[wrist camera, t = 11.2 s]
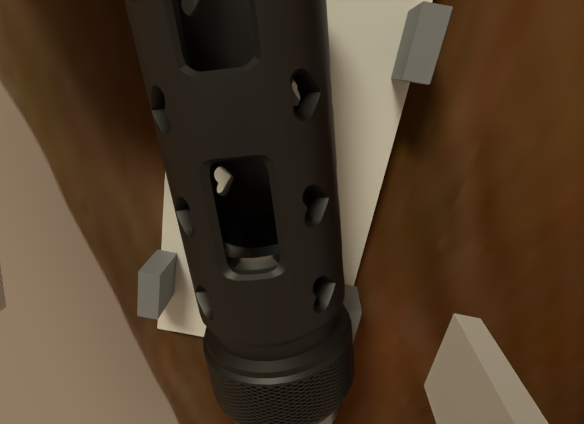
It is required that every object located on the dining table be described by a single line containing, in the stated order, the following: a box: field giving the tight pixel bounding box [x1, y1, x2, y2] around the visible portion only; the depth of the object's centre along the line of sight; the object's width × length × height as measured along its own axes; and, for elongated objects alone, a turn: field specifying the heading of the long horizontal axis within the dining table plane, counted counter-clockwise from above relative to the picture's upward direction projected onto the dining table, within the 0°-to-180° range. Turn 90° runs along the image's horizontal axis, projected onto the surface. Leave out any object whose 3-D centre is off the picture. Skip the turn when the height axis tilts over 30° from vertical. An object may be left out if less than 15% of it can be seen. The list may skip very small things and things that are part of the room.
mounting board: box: [137, 0, 453, 342], centre depth 26 cm, size 32×17×5 cm, turn 170°
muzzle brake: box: [124, 0, 354, 424], centre depth 21 cm, size 10×28×10 cm, turn 6°
